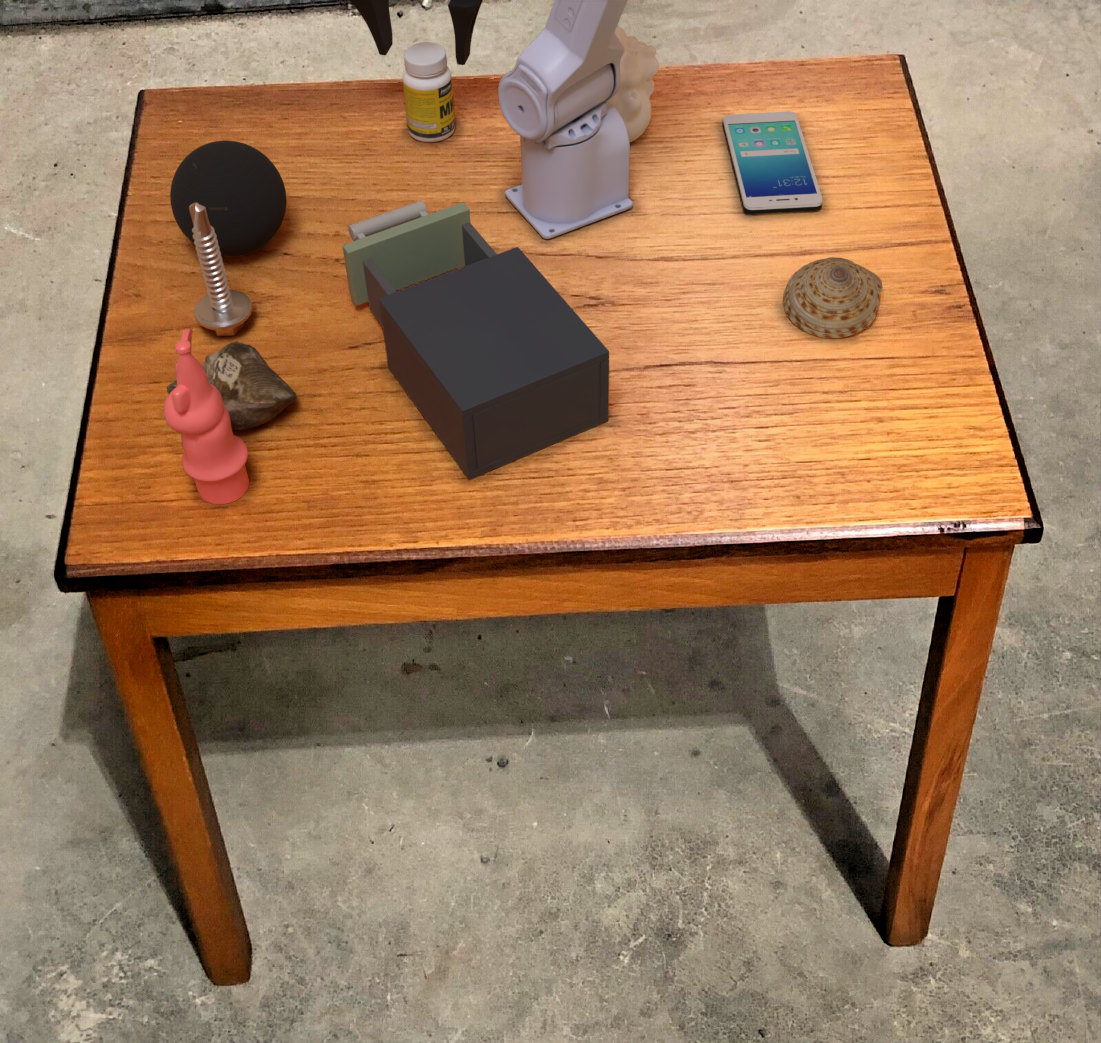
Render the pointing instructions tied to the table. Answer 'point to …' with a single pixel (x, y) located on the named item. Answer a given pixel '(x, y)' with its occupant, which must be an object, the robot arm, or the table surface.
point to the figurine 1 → (205, 431)
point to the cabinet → (495, 361)
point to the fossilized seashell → (246, 385)
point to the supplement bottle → (428, 93)
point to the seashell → (832, 297)
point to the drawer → (408, 250)
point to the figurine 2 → (635, 84)
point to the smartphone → (771, 163)
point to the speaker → (230, 195)
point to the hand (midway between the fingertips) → (424, 54)
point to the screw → (216, 282)
